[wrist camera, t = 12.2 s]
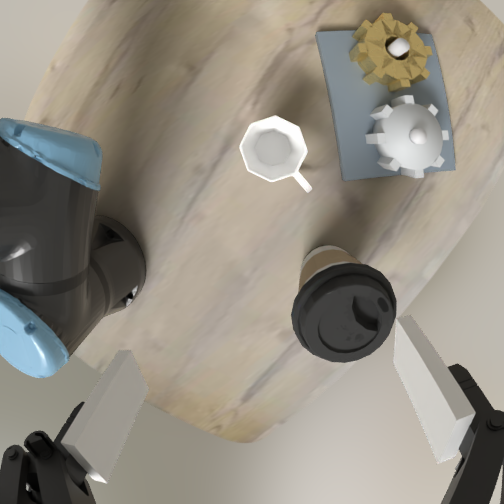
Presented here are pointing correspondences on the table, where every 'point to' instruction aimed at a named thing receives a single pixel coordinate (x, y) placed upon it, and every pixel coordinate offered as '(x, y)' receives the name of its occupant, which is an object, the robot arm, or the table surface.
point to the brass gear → (381, 63)
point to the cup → (274, 150)
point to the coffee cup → (341, 306)
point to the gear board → (373, 96)
